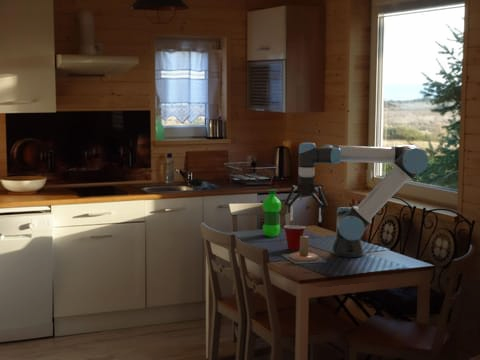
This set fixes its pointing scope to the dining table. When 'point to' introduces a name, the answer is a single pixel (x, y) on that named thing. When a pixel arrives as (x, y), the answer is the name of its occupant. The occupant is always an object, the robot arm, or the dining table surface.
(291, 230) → the plastic cup
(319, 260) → the mat
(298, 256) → the lid
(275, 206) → the plastic bottle
